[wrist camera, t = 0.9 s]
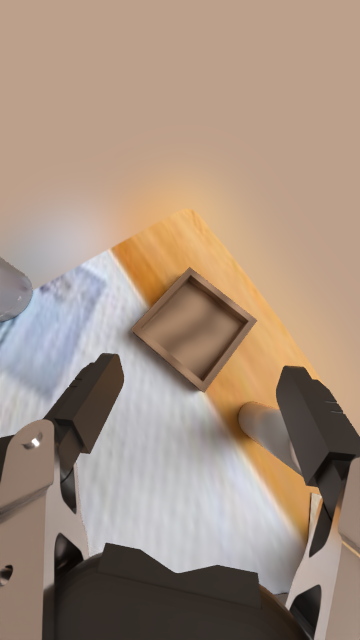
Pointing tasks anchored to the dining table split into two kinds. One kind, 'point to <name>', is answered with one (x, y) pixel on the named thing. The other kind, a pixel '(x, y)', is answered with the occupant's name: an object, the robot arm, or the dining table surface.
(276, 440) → the salt shaker
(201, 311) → the tray
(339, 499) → the robot arm
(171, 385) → the dining table surface
